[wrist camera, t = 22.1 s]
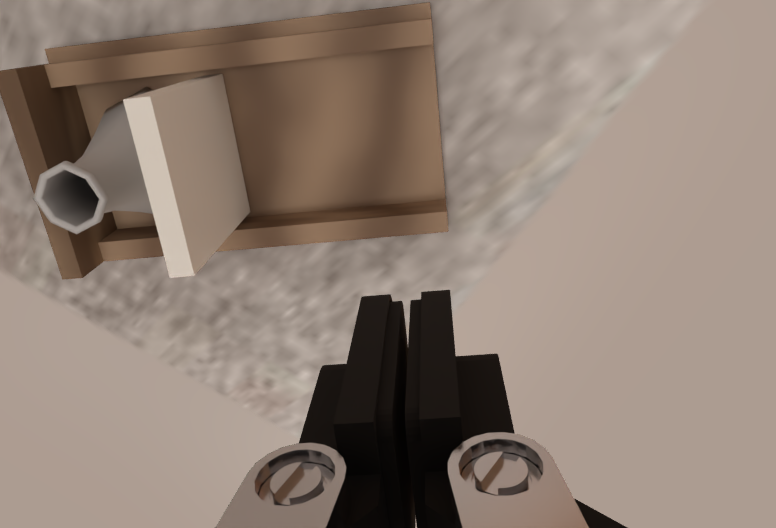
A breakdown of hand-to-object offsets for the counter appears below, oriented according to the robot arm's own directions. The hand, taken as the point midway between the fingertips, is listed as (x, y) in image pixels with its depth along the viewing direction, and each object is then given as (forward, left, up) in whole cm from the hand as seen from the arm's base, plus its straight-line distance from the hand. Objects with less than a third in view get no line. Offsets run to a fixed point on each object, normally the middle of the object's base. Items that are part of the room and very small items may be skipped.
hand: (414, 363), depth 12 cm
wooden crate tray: (-10, 0, -27) cm, 29 cm away
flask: (-16, 0, -26) cm, 31 cm away
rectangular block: (-12, 0, -26) cm, 28 cm away
